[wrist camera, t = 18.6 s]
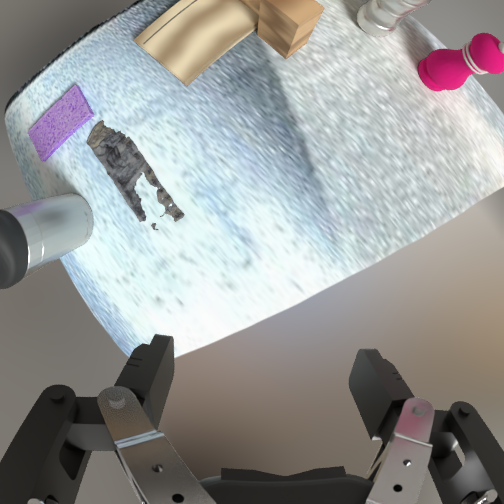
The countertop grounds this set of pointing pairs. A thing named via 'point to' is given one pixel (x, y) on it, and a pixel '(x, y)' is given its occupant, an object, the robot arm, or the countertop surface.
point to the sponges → (60, 122)
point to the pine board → (196, 35)
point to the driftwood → (127, 169)
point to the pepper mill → (462, 63)
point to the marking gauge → (285, 22)
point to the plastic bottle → (385, 15)
